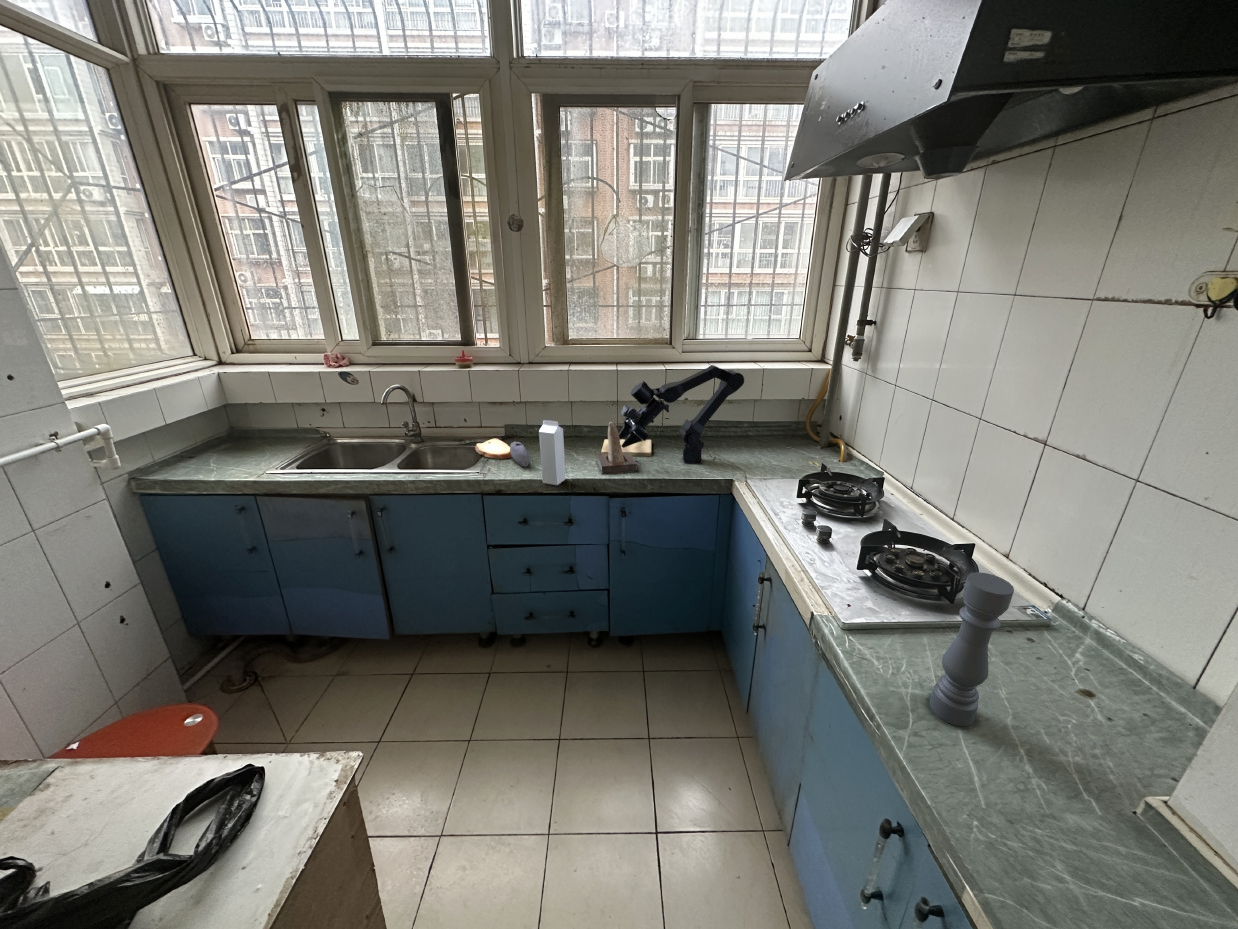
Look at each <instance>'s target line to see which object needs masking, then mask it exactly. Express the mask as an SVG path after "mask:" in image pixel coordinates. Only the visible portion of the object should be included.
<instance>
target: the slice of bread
mask: <svg viewBox="0 0 1238 929" xmlns="http://www.w3.org/2000/svg"><path fill="white" fill-rule="evenodd" d="M474 450H475V452H476V453H477V454H478V455H480V456H483V457H485V458H489V459H494V460H496V459H497V460H502V459H503V460H505V459H512V458H513V457H512V456H511V453H510V445H508V444H507V443H506V442H504V441H502V440H500V439H499V438H496V437H495V438H494V437H493V438H491V439H489V440H486V441H484V442H480V443H479V442H477V443H476V445H475V447H474Z"/></svg>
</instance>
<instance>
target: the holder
mask: <svg viewBox="0 0 1238 929" xmlns="http://www.w3.org/2000/svg"><path fill="white" fill-rule="evenodd" d="M623 457H624V461H625V462H616V463H608V459H609V458H608V454H601V453H600V454H596V462H597V465H598V467H599V470H600V472H601V474H602V475H609V474H622V473H634V472H638V463H637V461H636V460H635V458H634V456H632V455H631V453H630V452H626V453H623Z"/></svg>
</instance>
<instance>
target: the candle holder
mask: <svg viewBox="0 0 1238 929" xmlns="http://www.w3.org/2000/svg"><path fill="white" fill-rule="evenodd" d="M1014 593H1015V588H1014V586H1013V584H1011V583H1010V582H1009V581H1008V580H1006V579H1004V578H1003V577H1000V576H997V575H995V574H992V573H989V572H988V573H987V572H982V571H981V572H980V571H979V572H978V571H976V572H970V573H969V574H967V577H966V580H965V584H964V587H963V590H962V599H963V603H964V605H965V606H962V607H961V608H960V609H959V612H958V613H959V618H960V619H961V623H960V628H959V631H958V633H957V635H956V636H955V638H954V639H953V641H952V642H951V643H950V645H949V646H948V648H947V649H946V651H945V652H944V653H943V654H942V658H941V666H942V669H943V671H944V674H943V675H940V677H939V678H937V682H936V683H935V684H934V685H933V688H932V692H931V695H930V699H929V707H930V709H931V711H932V712H933V713H934V714H935V715H936V717H937V718H939V719H941V720H942V721H944V722H945V723H947V724H949V725H953V726H955V727H967V726H971V725H972V724H973V723H974V720H975V717H976V715H977V711H978V708H979V699H980V697H979V696H980V695H979V690H978V689H977V687H978V686H980V685H982V684H983V683H984V682H985V681H986V680H987V679H988V677H989V643H990V642H991V638H992V634H993V632H994V631H997V630H999V629H1000V627H1001V626H1002V622H1001V619H999V617H1002V615H1004V614H1005V612H1007V611H1008V610H1009V608H1010V605H1011V603H1012V602H1011V601H1012V599H1013V596H1014Z"/></svg>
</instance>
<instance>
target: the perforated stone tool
mask: <svg viewBox="0 0 1238 929" xmlns="http://www.w3.org/2000/svg"><path fill="white" fill-rule="evenodd" d="M509 447H510V453H511V456H512V457H511V458H512V459H513V460H514V461H515V462H516V463H517V464H518V465H520V466H521V467H524V468H526V467H528V466H529V464H530V454H529V453H528V452H529V451H528V450H527V448H526V447H525V446H524V444H522V443H521V442H520V441H513V442H511V443H510V445H509Z"/></svg>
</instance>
